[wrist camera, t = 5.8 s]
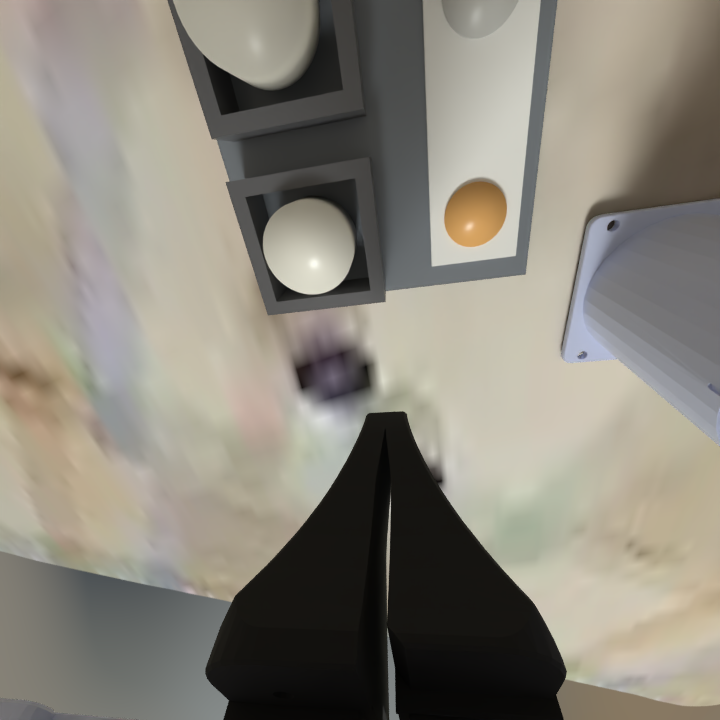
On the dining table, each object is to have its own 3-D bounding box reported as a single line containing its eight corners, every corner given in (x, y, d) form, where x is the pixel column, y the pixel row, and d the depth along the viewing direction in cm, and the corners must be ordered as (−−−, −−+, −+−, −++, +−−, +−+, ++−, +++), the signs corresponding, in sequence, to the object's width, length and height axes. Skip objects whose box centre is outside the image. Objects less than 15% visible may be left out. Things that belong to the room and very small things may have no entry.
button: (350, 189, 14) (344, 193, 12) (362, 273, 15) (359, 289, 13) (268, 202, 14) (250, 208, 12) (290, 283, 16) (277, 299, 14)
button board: (611, -721, 6) (802, -1469, 4) (514, 265, 17) (542, 288, 14) (59, -444, 8) (-124, -782, 5) (276, 295, 18) (255, 320, 15)
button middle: (305, -87, 9) (284, -153, 7) (330, 78, 11) (318, 61, 9) (188, -54, 10) (139, -107, 8) (231, 100, 11) (200, 88, 9)
